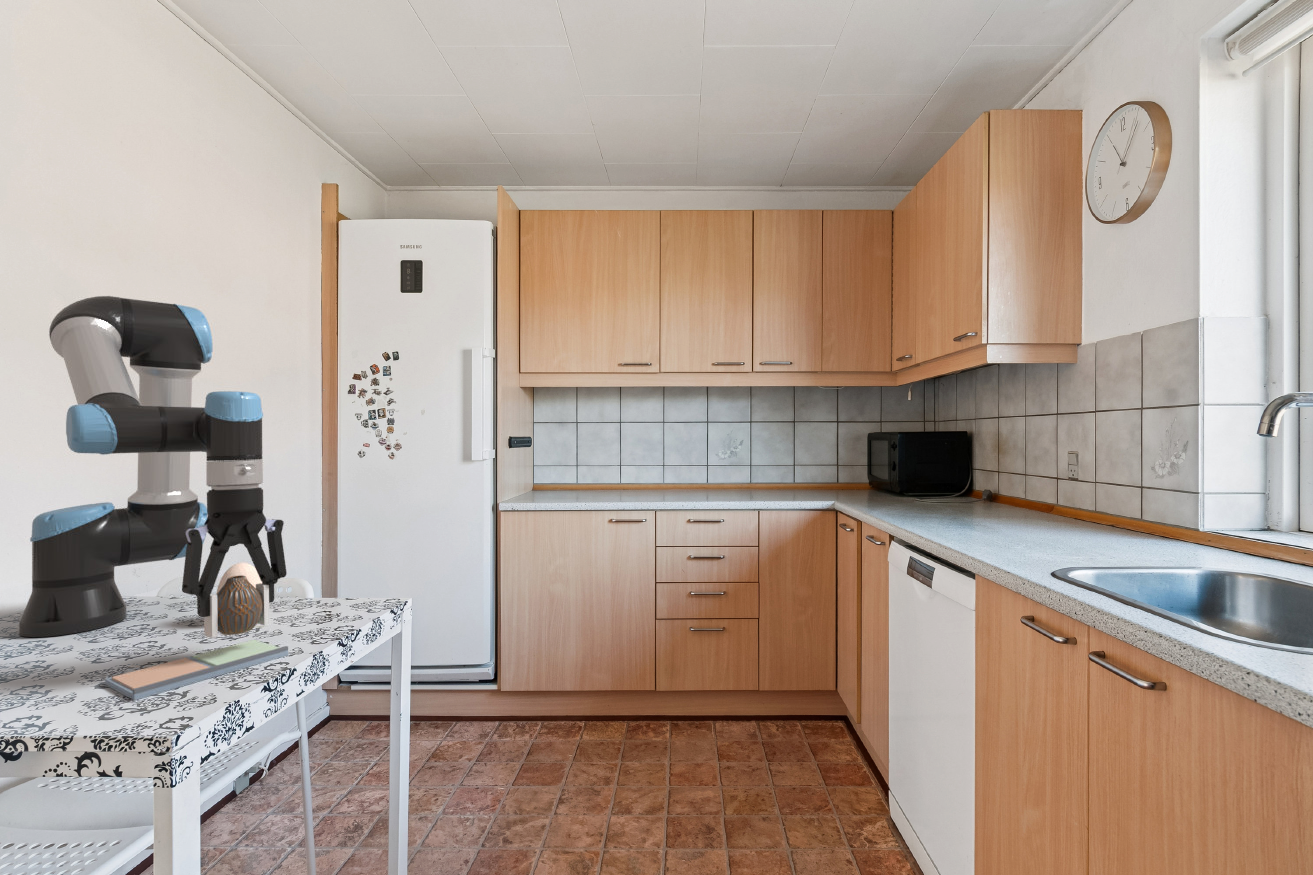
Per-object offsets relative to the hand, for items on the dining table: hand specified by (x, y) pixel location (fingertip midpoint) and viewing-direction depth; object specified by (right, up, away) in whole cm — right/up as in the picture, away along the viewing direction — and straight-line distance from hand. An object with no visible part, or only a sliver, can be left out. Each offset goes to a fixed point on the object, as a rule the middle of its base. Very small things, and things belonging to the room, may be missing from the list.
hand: (237, 629), depth 98 cm
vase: (0, -1, 0) cm, 1 cm away
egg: (-14, -5, +22) cm, 27 cm away
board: (-3, -5, -4) cm, 7 cm away
